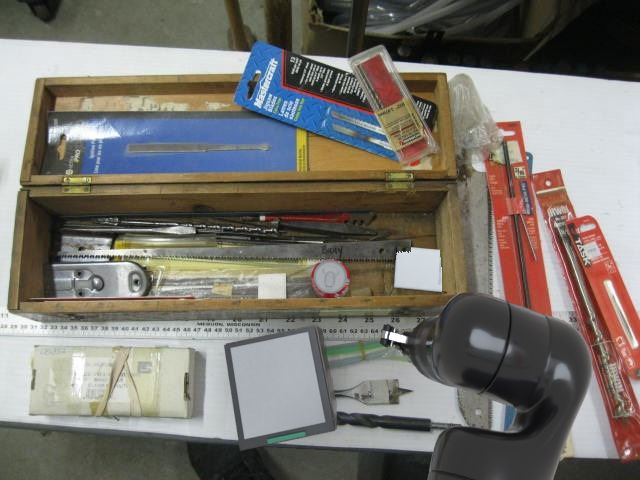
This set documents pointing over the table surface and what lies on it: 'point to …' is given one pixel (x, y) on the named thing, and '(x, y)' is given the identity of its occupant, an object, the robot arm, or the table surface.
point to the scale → (278, 388)
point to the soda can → (330, 279)
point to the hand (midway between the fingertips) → (421, 347)
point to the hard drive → (418, 270)
